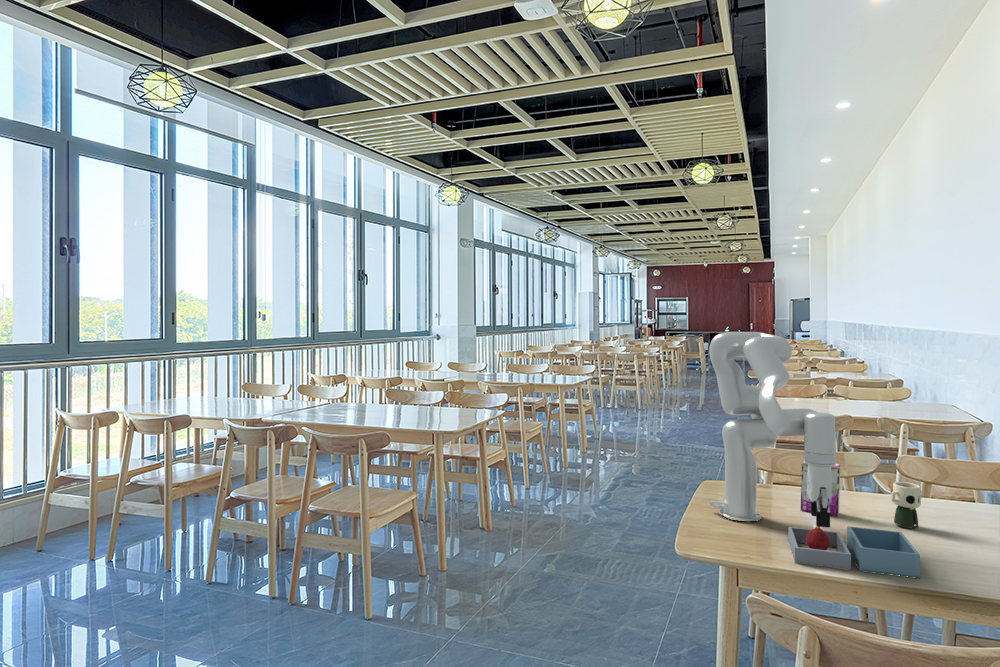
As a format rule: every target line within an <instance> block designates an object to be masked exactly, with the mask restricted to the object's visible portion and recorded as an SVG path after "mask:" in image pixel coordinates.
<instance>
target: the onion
mask: <svg viewBox="0 0 1000 667" xmlns="http://www.w3.org/2000/svg"><path fill="white" fill-rule="evenodd" d="M811 529H812V530H810V531H809V532H808V534H807V536H806V543H805V544H806V545H807V546H808V547H807V548H810V549H818V550H826V551H828V549H829V548H830V546H829V545H830V540H829V537H828V535H827V534H826V533H825V532H824V531H825V530H823V529H822V527H818V526H817V525H815V527H814V528H811Z"/></svg>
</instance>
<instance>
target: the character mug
mask: <svg viewBox="0 0 1000 667" xmlns="http://www.w3.org/2000/svg"><path fill="white" fill-rule="evenodd" d="M922 491H923V490H922V487H921V486H920V485H919V484H916V483H912V482H906V481H895V482H893V485H892V491H891V498H890V499H891V502H893V504H894V505H896V508H895V512H894V520H893V523H894V524H896V525H898V526H900V527H901V528H907V529H915V528H916V529H918V528H919V518H918V511H917V508H920V506H921V505H922V501H921V500H922V499H923V498H922V496H923V492H922ZM914 527H915V528H914Z"/></svg>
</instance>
